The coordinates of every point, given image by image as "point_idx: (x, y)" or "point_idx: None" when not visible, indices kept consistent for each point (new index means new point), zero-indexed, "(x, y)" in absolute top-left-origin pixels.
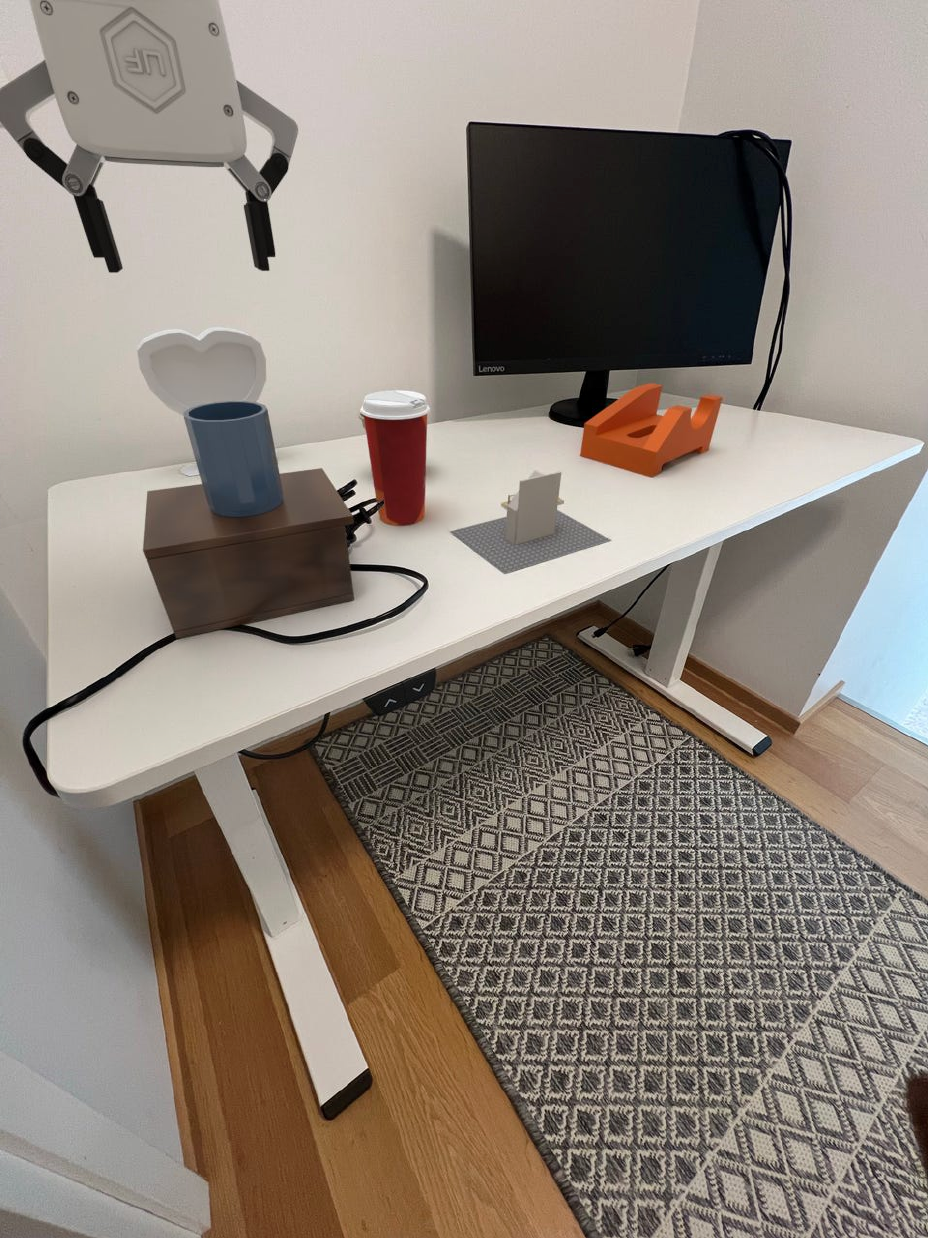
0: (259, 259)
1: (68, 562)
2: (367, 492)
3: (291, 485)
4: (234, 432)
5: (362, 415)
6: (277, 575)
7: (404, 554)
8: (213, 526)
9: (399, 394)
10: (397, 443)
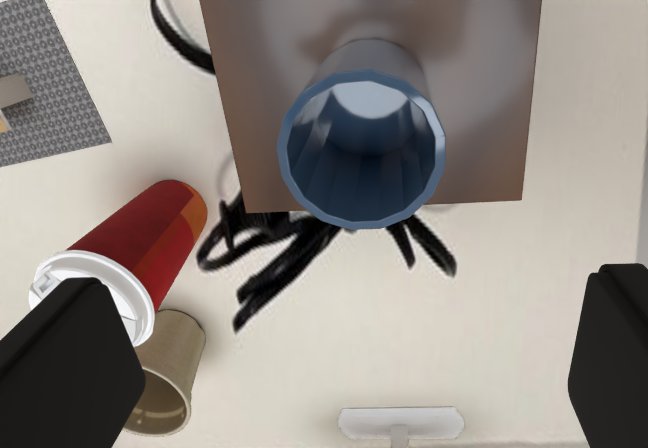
0: (82, 296)
1: (626, 217)
2: (220, 291)
3: None
4: (349, 66)
5: (186, 413)
6: None
7: (178, 95)
8: (426, 12)
9: None
10: (114, 235)
